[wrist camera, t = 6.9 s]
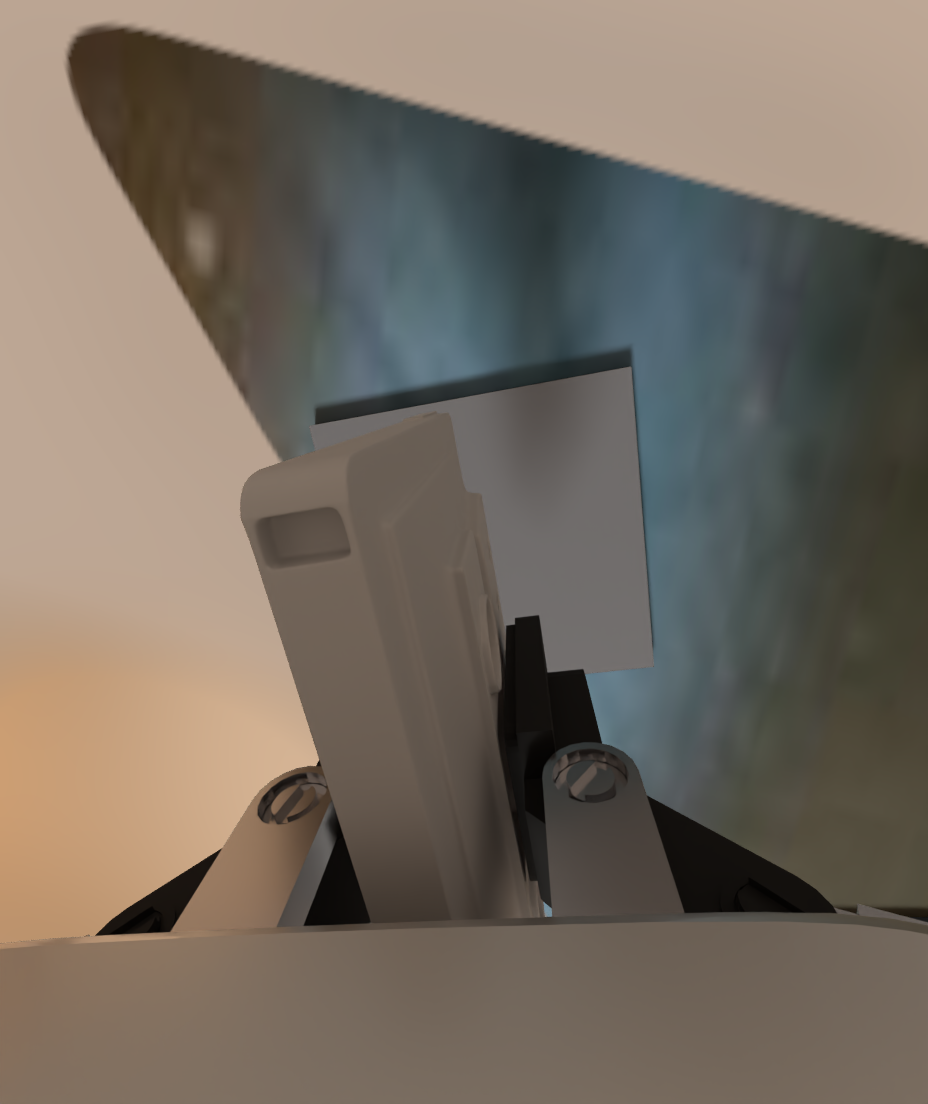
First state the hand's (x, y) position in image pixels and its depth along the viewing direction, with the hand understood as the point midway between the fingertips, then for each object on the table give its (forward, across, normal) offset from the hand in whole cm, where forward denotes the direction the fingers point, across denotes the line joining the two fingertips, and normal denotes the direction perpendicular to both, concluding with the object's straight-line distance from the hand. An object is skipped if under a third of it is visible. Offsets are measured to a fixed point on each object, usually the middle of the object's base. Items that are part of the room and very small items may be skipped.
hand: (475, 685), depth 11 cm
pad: (+10, 0, 0) cm, 10 cm away
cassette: (+2, 0, 0) cm, 2 cm away
